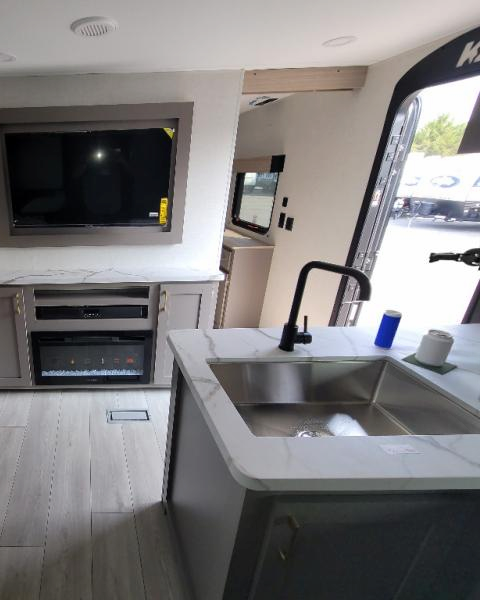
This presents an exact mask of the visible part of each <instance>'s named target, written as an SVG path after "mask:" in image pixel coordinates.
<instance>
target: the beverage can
mask: <svg viewBox="0 0 480 600" xmlns="http://www.w3.org/2000/svg"><path fill="white" fill-rule="evenodd" d="M402 314H403V313H402V312H400V311H398V310H393V309H386V310H385V311H384V312H383V314H382V316H381V317H382V318H381V320H380V323H379V326H378V330H377V332H376V335H375V338H374V342H373V344H374V346H375V347H376V348H378V349H382V350H389V349H391V348H392V346H393V343H394V340H395V336H396V334H397V332H398V328H399V326H400V323H401V320H402V317H403V315H402Z"/></svg>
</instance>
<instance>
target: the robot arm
mask: <svg viewBox="0 0 480 600" xmlns="http://www.w3.org/2000/svg"><path fill="white" fill-rule="evenodd" d="M428 259H429V260H428V263H429V264H433V263H436V262H440V261H453V262H456V263H457V262H458V263H463V264H465V265H466V266H469V267H478V268H477V271H480V241H479V242H478V245H477V247H472V248H469V249H467V250H465V251H464V252H456V253H455V251H444V252H443V251H442V252H441V251H439V252H430V254H429V255H428Z"/></svg>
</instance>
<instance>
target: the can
mask: <svg viewBox="0 0 480 600" xmlns="http://www.w3.org/2000/svg"><path fill="white" fill-rule="evenodd" d="M453 337H454V335H453V334H452V333H450V332H448V331H445V330H440V329H428V330H427V331H425V332H423V335H422V336H421V339H420V342H419V345H418V347H417V350H416V352H415V353H416V355H415V358H416V359H417V360H418V361H419V362H421V363H423V364H425V365H429V366H435V367H438V366H442V365H444V364H445V362H447V359H448V357H449V354H450V352H451V351H452V350H451V349H452V348H453V345H454V343H455V339H454V338H453Z"/></svg>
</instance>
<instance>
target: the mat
mask: <svg viewBox="0 0 480 600" xmlns="http://www.w3.org/2000/svg"><path fill="white" fill-rule="evenodd" d="M415 355H416V352H414V353H412V354H410V355H408V356H405V357H403V358H402V359H401V361H404V362H407V363H409V364H411V365H414V366H418V367H420V368H423V369H425V370H428V371H431V372H434V373H436V374H438V375H443V374H446V373H448V372H450V371H451V370H453V369H455V368H457V367H458V365H455V364H452V363H449V362H447V361H445V364H444V365H442V366H438V367H435V366H429V365H425V364H423V363H421V362H419V361H418V360H417V359H416V358H415Z"/></svg>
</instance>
